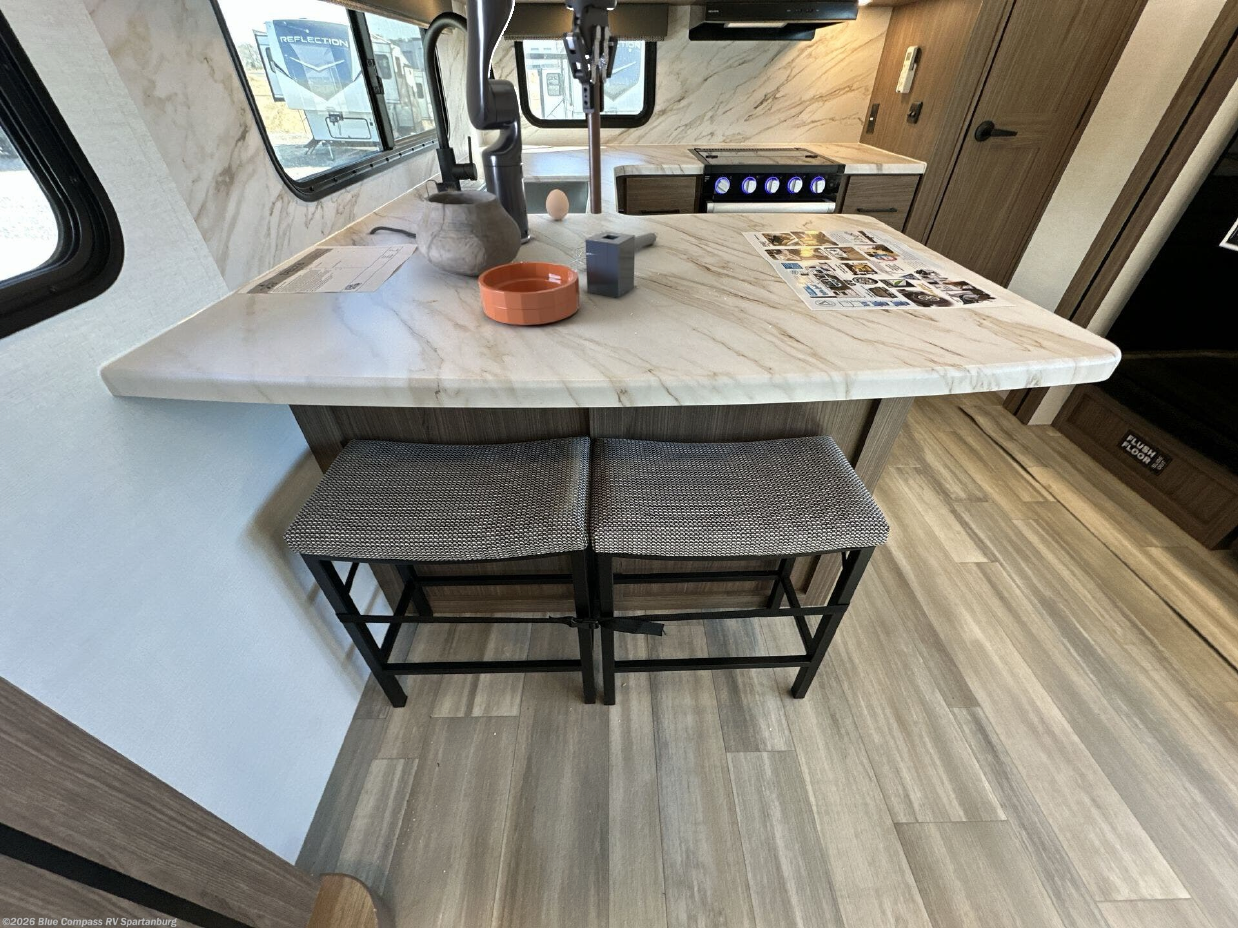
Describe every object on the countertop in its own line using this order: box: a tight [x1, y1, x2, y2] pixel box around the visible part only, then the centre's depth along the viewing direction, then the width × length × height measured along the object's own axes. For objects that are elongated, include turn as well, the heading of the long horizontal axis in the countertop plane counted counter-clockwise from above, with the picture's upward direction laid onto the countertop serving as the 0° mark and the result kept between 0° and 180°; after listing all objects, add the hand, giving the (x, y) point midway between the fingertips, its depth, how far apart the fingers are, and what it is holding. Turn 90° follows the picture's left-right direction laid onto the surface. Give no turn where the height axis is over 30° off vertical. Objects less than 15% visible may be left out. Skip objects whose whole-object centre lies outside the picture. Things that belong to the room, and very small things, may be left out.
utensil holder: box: [584, 230, 636, 299], centre depth 99 cm, size 7×7×10 cm
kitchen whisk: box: [571, 231, 658, 273], centre depth 117 cm, size 6×34×6 cm, turn 147°
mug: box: [425, 179, 458, 197], centre depth 137 cm, size 8×6×12 cm
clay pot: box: [415, 189, 522, 277], centre depth 106 cm, size 22×21×15 cm
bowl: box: [477, 260, 581, 326], centre depth 92 cm, size 18×18×6 cm
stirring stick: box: [587, 74, 603, 215], centre depth 85 cm, size 2×2×20 cm
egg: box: [545, 189, 570, 221], centre depth 146 cm, size 7×7×8 cm
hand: (593, 112), depth 82 cm, fingers closed on stirring stick, 2 cm apart
